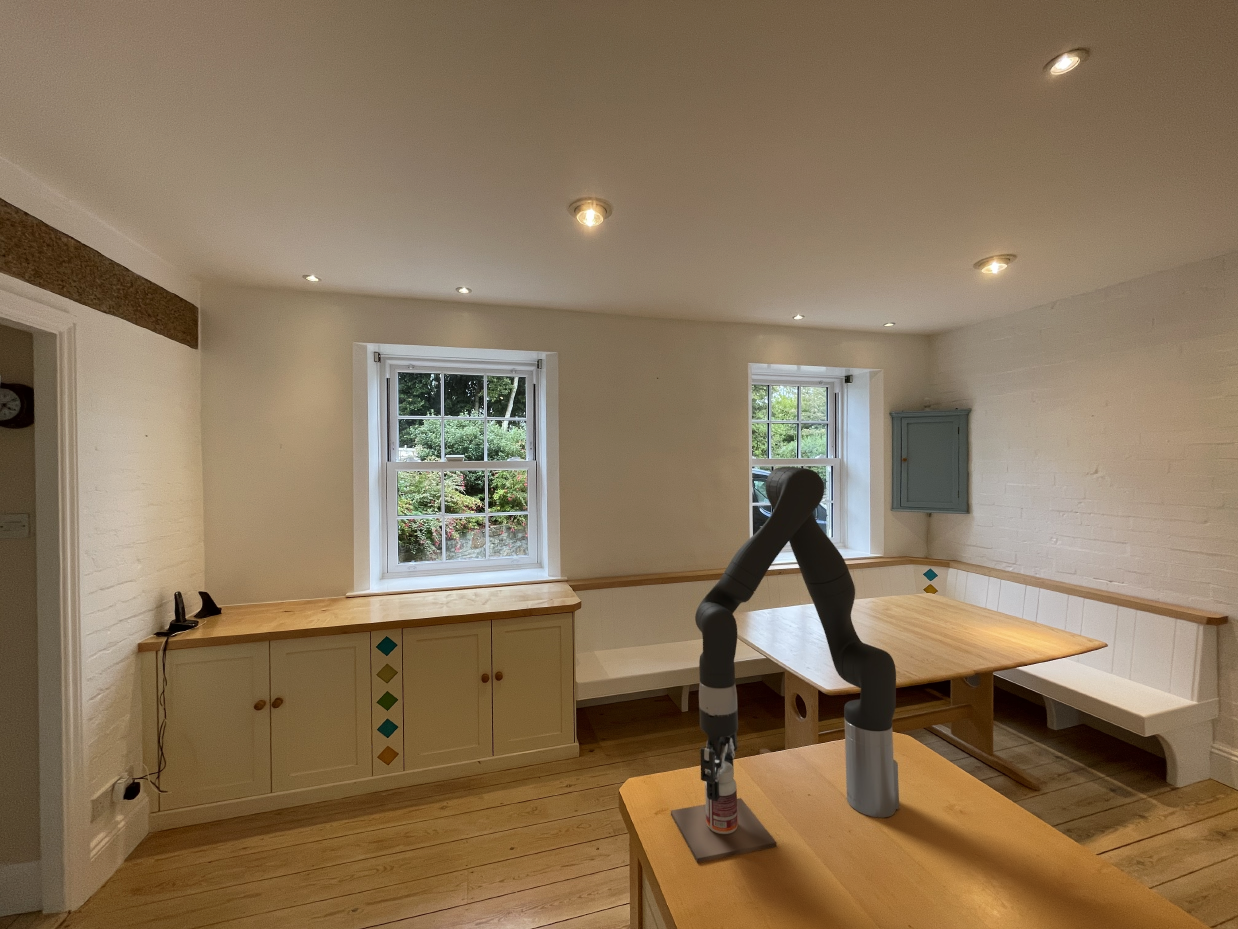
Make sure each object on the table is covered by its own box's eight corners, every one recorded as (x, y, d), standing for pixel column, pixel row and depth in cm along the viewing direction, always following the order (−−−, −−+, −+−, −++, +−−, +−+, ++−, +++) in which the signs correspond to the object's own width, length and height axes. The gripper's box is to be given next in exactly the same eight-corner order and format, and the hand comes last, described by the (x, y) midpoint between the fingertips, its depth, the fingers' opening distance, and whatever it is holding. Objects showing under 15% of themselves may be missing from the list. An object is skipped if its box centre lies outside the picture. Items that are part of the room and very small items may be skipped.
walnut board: (741, 801, 109) (740, 798, 109) (776, 846, 95) (776, 842, 95) (670, 814, 105) (670, 810, 105) (697, 863, 91) (697, 858, 91)
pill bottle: (744, 827, 99) (742, 768, 100) (721, 840, 96) (720, 779, 96) (721, 811, 104) (720, 755, 105) (699, 822, 101) (698, 764, 101)
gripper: (713, 688, 109) (715, 765, 108) (686, 715, 97) (689, 801, 96) (747, 695, 105) (750, 774, 105) (724, 724, 93) (727, 814, 92)
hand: (720, 787), depth 100 cm, fingers open, 8 cm apart
